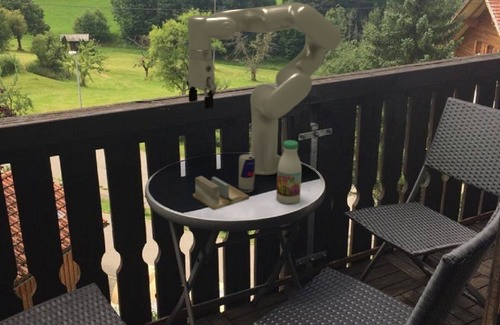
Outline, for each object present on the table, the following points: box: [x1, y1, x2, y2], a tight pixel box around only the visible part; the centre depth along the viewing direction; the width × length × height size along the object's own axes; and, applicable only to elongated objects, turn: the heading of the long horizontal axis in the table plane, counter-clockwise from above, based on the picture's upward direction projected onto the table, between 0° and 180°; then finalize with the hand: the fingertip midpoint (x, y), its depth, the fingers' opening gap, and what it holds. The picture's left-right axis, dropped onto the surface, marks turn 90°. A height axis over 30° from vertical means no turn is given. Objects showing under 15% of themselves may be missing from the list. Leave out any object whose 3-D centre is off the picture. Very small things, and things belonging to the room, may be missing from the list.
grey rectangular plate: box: [211, 176, 232, 201], centre depth 177 cm, size 1×10×5 cm, turn 38°
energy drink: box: [238, 153, 256, 194], centre depth 183 cm, size 5×5×12 cm
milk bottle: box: [275, 139, 302, 204], centre depth 175 cm, size 8×8×20 cm
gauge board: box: [192, 175, 250, 211], centre depth 178 cm, size 14×12×7 cm
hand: (200, 104), depth 186 cm, fingers open, 9 cm apart
